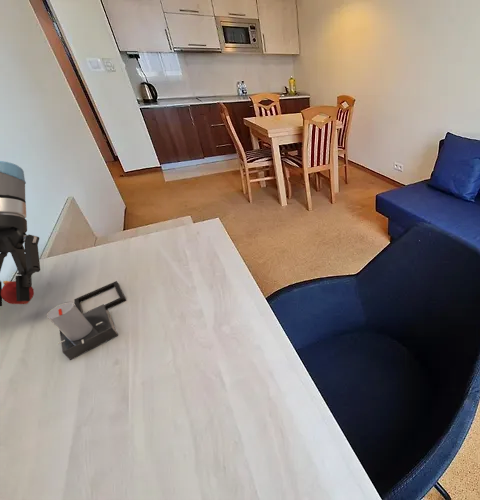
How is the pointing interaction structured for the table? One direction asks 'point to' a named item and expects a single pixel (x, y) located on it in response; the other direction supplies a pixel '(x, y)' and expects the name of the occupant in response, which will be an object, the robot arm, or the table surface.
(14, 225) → the robot arm
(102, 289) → the frame
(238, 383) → the table surface
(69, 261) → the table surface
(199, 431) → the table surface
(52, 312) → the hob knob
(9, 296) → the onion
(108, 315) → the panel
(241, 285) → the table surface
